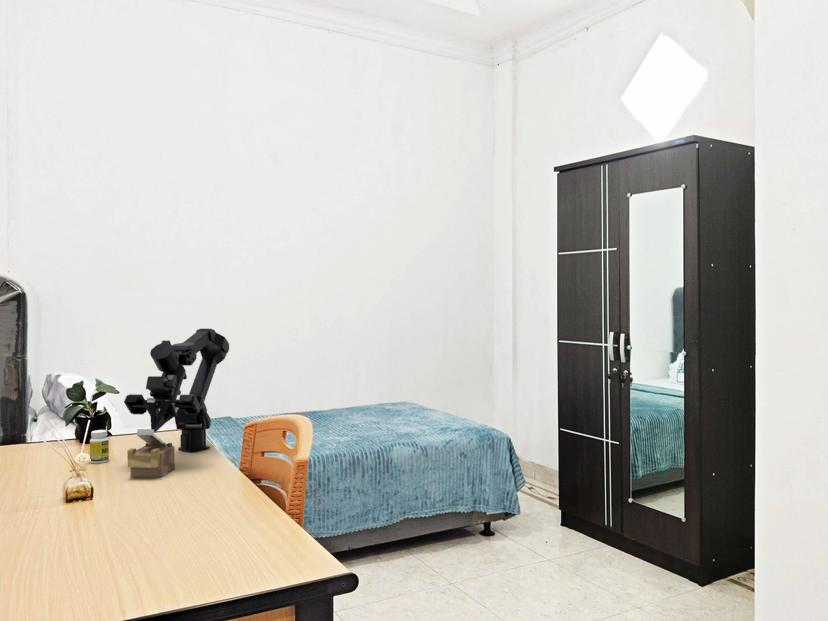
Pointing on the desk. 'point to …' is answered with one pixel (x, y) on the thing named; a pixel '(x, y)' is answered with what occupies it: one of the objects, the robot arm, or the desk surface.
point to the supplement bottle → (99, 446)
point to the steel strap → (150, 437)
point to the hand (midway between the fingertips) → (153, 431)
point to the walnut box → (151, 460)
